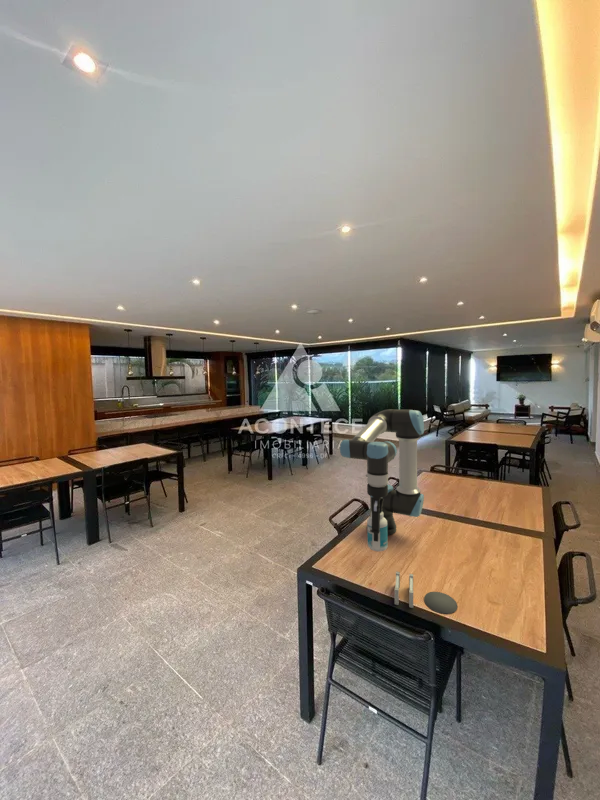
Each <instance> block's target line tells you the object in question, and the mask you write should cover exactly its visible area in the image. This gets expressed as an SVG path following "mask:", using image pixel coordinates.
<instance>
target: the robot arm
mask: <svg viewBox="0 0 600 800" xmlns="http://www.w3.org/2000/svg"><path fill="white" fill-rule="evenodd" d="M424 432H425V424H424V416H423V415H422V412H421V411H420V410H415V409H414V410H413V409H392V408H391V409H390V408H389V409H384V410H381V411H379V412H377V413H375V414H373V415H372V416H371V417H370V418H369V419H368V421H367V424H366V425H365V426H363V428H362V429H361V430H360V431H359V432H358V433H357V434H356V435H355V436H354V437H353V438H352V439H343V440H342V441H341V443H340V446H339V452H340V455H341V456H342V457H343V458H347V459H353V460H364V461H366V466H367V467H366V474H365V478H366V477H367V479H366V480H367V487H366V492H367V493H366V494H367V495H368V496H369V498H370V501H369V502H370V504H369V505H370V511H369V512H370V514H369V517H371V511H372V530H370V532H372V548H373V549H379V550H380V530H379V529H380V513H381V512H383V513H384V516H383V517H384V518H385V519H386V520H387V535H388V536H390V535H391V536H392V535H393V534H395V533H397V532H396V531H397V524H396V521H395V518H394V514H398V515H403V516H407V517H408V516H409V517H414V518H417V517H419V516H420V515H421V514H422V511H423V505H424V501H425V500H424V499H425V496H424V494H423V493H421V489H420V487H418V440H419V439H420V438H421V435H424ZM383 433H395V438H397V439H398V450H397V447H396V445H395V444H394V443H393V442H391V441H388V440H385V441H375V440H376V439H377V438H378V437H379V436H380V435H381V434H383ZM397 453H398V457H399V458H398V459H399V460H398V465H399V466H398V467H399V468H398V469H399V471H398V472H399V473H398V475H399V476H398V477H399V482H398V484H399V485H398V486H396V489H394V486H393V485H391V484H389V472H388V471H389V468H388V467H389V463H390V462H391V461H393V460H394V459H395V457H396V456H397Z"/></svg>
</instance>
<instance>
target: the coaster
mask: <svg viewBox="0 0 600 800" xmlns="http://www.w3.org/2000/svg"><path fill="white" fill-rule="evenodd" d="M423 598H424V599H423V600H424V603H425V605H426V606H427V607H428V608H429V609H430V610H431V611H434V612H435V613H439V614H443V615H445V614H446V615H448V614H449V615H450V614H451V615H452V614H453V613H456V612H457V610H458V603H457V601H456V600H455V599H454V598H453V597H452V596H450V595H449V594H447V593H444V592H440V591H429V592H426V594H425V595H424V597H423Z"/></svg>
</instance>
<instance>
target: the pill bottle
mask: <svg viewBox="0 0 600 800" xmlns="http://www.w3.org/2000/svg"><path fill="white" fill-rule="evenodd" d="M383 516H384V513H383V512H381V513H380V529H379V530H380V550H379V549H373V548H372V532H370V530H372V511H371V517H370V516H368V518H367V520H366V528H367V531H366V533H367V535H366V536H367V539H366V541H367V547H368V549H369V550H371V551H374V552H384V551H386V550H387V549H388V547H389V545H388V544H389V543H388V541H389V540H388V539H389V538H388V536H389V535H387V520H386V519H385V518H384V517H383Z"/></svg>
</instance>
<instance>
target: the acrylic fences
mask: <svg viewBox="0 0 600 800" xmlns="http://www.w3.org/2000/svg"><path fill="white" fill-rule="evenodd" d="M408 576H409V579H408V581H409V583H408V585H409V587H408V589H409V590H408V591H409V593H408V595H409V597H408V598H409V599H408V600H409V601H408V602H409V603H408V607H409V608H411V609H414V574H413V573H409V575H408ZM400 577H401V576H400V571H397V570H395V587H394V605H396V606H399V602H400V596H399V595H400V594H399V593H400V592H399V591H400V586H401V585H400V584H401V583H400V581H401V580H400V579H401V578H400Z"/></svg>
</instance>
